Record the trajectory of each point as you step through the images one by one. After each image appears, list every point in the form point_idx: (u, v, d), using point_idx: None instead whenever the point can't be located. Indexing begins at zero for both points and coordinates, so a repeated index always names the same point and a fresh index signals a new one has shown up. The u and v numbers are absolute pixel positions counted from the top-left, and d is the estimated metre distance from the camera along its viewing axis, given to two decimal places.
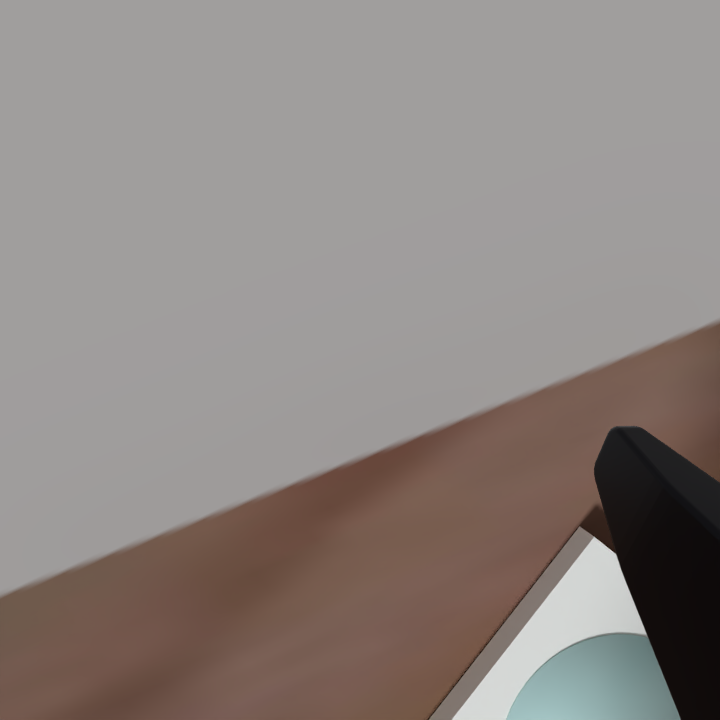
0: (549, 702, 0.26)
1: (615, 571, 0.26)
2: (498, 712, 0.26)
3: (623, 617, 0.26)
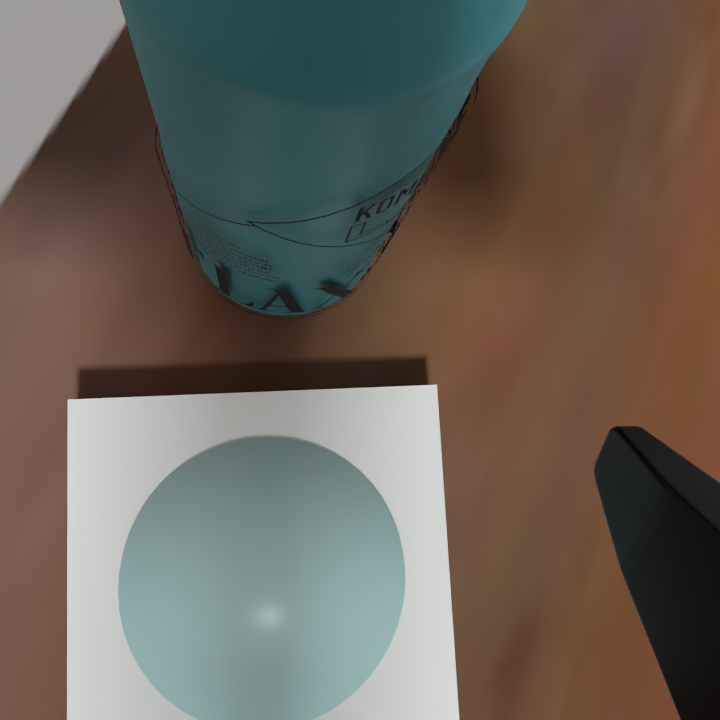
0: (163, 590, 0.21)
1: (120, 413, 0.21)
2: (113, 644, 0.20)
3: (169, 449, 0.21)
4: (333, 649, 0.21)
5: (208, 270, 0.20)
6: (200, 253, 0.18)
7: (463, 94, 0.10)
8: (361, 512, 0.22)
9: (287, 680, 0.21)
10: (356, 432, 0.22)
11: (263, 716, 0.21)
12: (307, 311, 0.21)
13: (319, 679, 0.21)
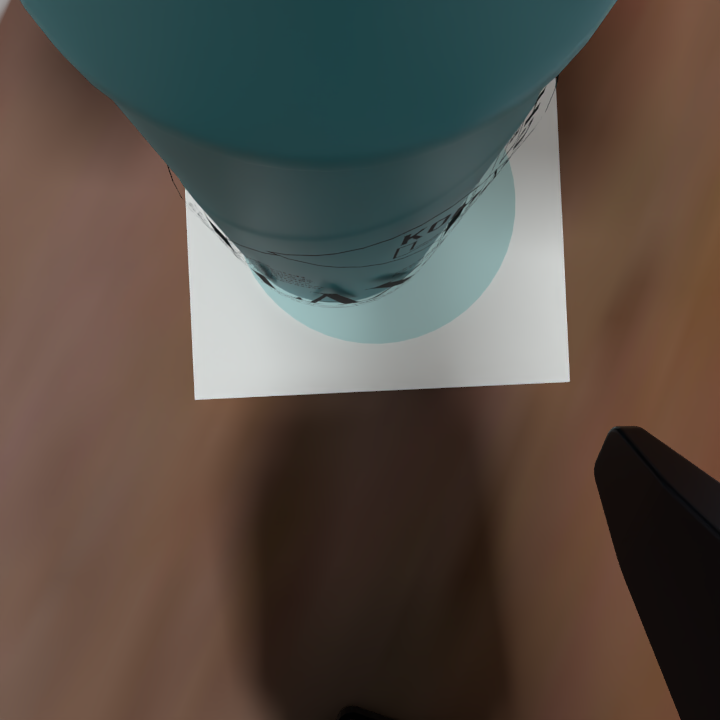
0: None
1: None
2: (230, 257, 0.21)
3: None
4: (442, 272, 0.21)
5: (249, 261, 0.18)
6: (234, 254, 0.15)
7: (539, 94, 0.07)
8: None
9: (396, 299, 0.21)
10: None
11: (373, 329, 0.21)
12: (364, 297, 0.19)
13: (427, 300, 0.21)
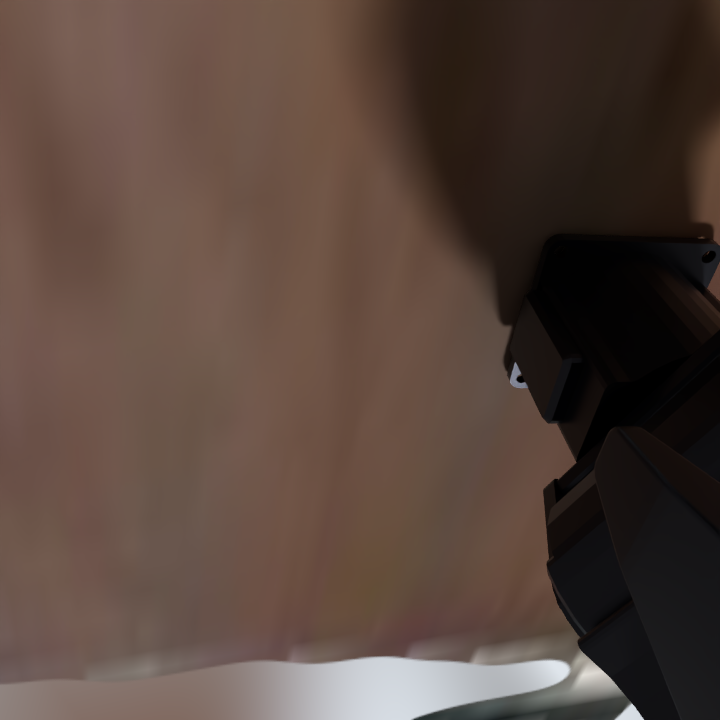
0: None
1: None
2: None
3: None
4: None
5: None
6: None
7: None
8: None
9: None
10: None
11: None
12: None
13: None
